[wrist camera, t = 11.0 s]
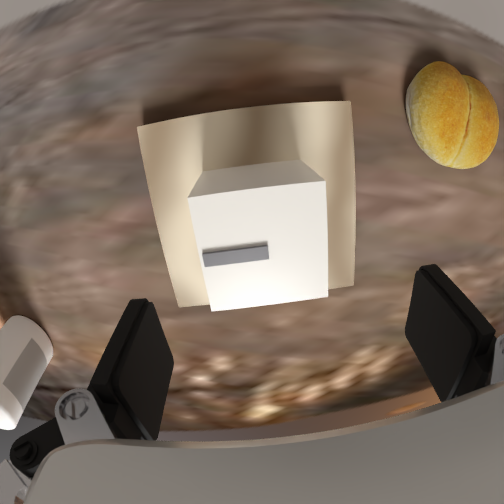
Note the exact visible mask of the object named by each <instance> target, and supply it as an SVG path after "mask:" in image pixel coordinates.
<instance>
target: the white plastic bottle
mask: <svg viewBox="0 0 504 504" xmlns="http://www.w3.org/2000/svg"><path fill="white" fill-rule="evenodd" d="M52 356H53V346H52V343H51V341H50V339H49V337H48V336H47V334H46V333H45V332H44V331H43V329H42V328H41V327H40V326H39V325H37V324H36V323H35V322H34V321H32V320H30V319H29V318H27V317H24V316H20V315H16V316H12V317H11V318H9V319H8V320H7V322H6V323H5V324H4V325H3V327H2V328H1V329H0V429H6V430H11V429H14V428H15V427H16V425H17V423H18V421H19V419H20V417H21V415H22V413H23V411H24V409H25V407H26V405H27V403H28V401H29V399H30V397H31V395H32V393H33V391H34V389H35V387H36V385H37V383H38V381H39V380H40V378H41V376H42V374H43V372H44V370H45V369H46V367H47V365H48V363H49V362H50V360H51V358H52Z"/></svg>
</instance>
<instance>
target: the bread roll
mask: <svg viewBox="0 0 504 504" xmlns="http://www.w3.org/2000/svg"><path fill="white" fill-rule="evenodd" d="M406 114H407V119H408V123H409V126H410V129H411V132H412V134H413V136H414V139H415V141H416V142H417V144H418V145H419V147H420V148H421V149H422V150H423V151H424V152H425V153H426V154H427V155H428V156H429V157H430V158H431V159H433V160H434V161H435V162H437V163H438V164H441V165H444V166H449V167H452V168H458V169H467V168H472V167H475V166H477V165H479V164H481V163H482V162H484V161H485V160H486V159H487V158H488V156H489V155H490V154H491V152H492V150H493V149H494V146H495V144H496V141H497V137H498V131H499V117H498V111H497V106H496V104H495V101H494V99H493V97H492V95H491V94H490V92H489V90H488V89H487V88H486V87H485V85H484V84H482V83H481V82H480V81H479V80H477V79H475V78H473V77H470V76H467V75H461V74H460V72H459V71H458V70H457V69H456V68H455V67H454V66H452V65H450V64H448V63H446V62H441V61H437V62H433V63H430V64H428V65H427V66H425V67H424V68H423V69H421V70H420V71H419V72H418V73H417V75H416V76H415V77H414V78H413V80H412V81H411V83H410V85H409V87H408V89H407V93H406Z"/></svg>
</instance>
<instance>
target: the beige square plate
mask: <svg viewBox="0 0 504 504" xmlns="http://www.w3.org/2000/svg"><path fill="white" fill-rule="evenodd" d="M137 130H138V136H139V142H140V147H141V153H142V158H143V163H144V168H145V173H146V178H147V183H148V188H149V192H150V197H151V202H152V206H153V210H154V215H155V219H156V223H157V227H158V232H159V236H160V240H161V244H162V248H163V252H164V255H165V259H166V263H167V267H168V270H169V274H170V278H171V281H172V285H173V288H174V292H175V295H176V299H177V302H178V306H179V307H187V306H197V305H207V304H210V302H209V298H208V294H207V289H206V285H205V281H204V276H203V272H202V267H201V263H200V258H199V253H198V249H197V244H196V239H195V234H194V229H193V224H192V219H191V214H190V209H189V204H188V199H187V197H188V196H189V194H190V192H191V190H192V189H193V187H194V185H195V184H196V182H197V180H198V178H199V177H200V175H201V173H202V172H203V171H209V170H216V169H223V168H230V167H238V166H245V165H253V164H262V163H271V162H280V161H290V160H302V161H303V162H304V163H305V164H306V165H308V166H309V167H310V168H311V169H312V170H314V171H315V172H316V173H317V174H318V175H319V176H321V177H322V178H323V179H324V180H325V181H326V199H327V228H328V289H333V288H340V287H346V286H353V285H354V265H355V225H356V199H355V160H354V140H353V124H352V111H351V101H323V102H302V103H287V104H275V105H264V106H255V107H246V108H238V109H230V110H223V111H216V112H210V113H204V114H198V115H192V116H187V117H181V118H176V119H171V120H166V121H161V122H157V123H152V124H148V125H143V126H139V127H137Z"/></svg>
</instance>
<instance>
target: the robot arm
mask: <svg viewBox="0 0 504 504" xmlns="http://www.w3.org/2000/svg"><path fill="white" fill-rule="evenodd" d="M495 332H496V330H495V329H494V328H493V327H492V325H491V324H490V323H489V322H488V321H487V320H486V318H485V317H484V316H483V315H482V314H481V313H480V311H479V310H478V309H477V308H476V307H475V306H474V305H473V303H472V302H471V301H470V300H469V299H468V298H467V297H466V296H465V294H464V293H463V292H462V291H461V290H460V289H459V288H458V287H457V286H456V285H455V284H454V283H453V282H452V281H451V279H450V278H449V277H448V276H447V275H446V274H445V273H444V272H443V271H442V270H441V269H440V268H439V267H438V266H437V265H436V264H431V265H425V266H421V267H420V268H419V271H416V274H415V279H414V285H413V291H412V297H411V302H410V307H409V312H408V317H407V322H406V327H405V335H406V338H407V340H408V341H409V343H410V345H411V347H412V348H413V350H414V352H415V354H416V356H417V357H418V359H419V361H420V363H421V365H422V367H423V368H424V370H425V372H426V374H427V376H428V378H429V380H430V382H431V384H432V385H433V387H434V389H435V391H436V393H437V395H438V397H439V399H440V401H441V403H438V404H435V405H432V406H429V407H426V408H423V409H419V410H416V411H413V412H409V413H406V414H402V415H398V416H395V417H391V418H387V419H383V420H379V421H375V422H370V423H366V424H361V425H356V426H352V427H347V428H341V429H336V430H330V431H324V432H318V433H311V434H304V435H296V436H288V437H279V438H269V439H257V440H241V441H215V442H214V441H210V442H192V441H191V442H189V441H156V440H157V438H158V434H159V429H160V424H161V419H162V415H163V410H164V405H165V401H166V396H167V392H168V388H169V383H170V379H171V375H172V370H173V366H174V360H173V356H172V353H171V351H170V348H169V346H168V343H167V340H166V338H165V335H164V332H163V329H162V327H161V324H160V321H159V318H158V315H157V313H156V310H155V307H154V304H153V303H152V302H149V301H148V300H147V299H146V298H144V299H132V300H130V301H129V303H128V305H127V307H126V309H125V311H124V313H123V315H122V317H121V319H120V321H119V323H118V325H117V327H116V329H115V331H114V333H113V335H112V337H111V339H110V341H109V343H108V345H107V347H106V349H105V351H104V353H103V355H102V357H101V360H100V362H99V364H98V366H97V368H96V370H95V373H94V375H93V377H92V379H91V381H90V384H89V386H88V389H87V390H86V389H73V390H70V391H68V392H67V393H65V394H63V395H62V396H61V398H60V399H59V400H58V402H57V403H56V406H55V416H56V417H55V418H53V419H52V420H50V421H48V422H46V423H45V424H43V425H41V426H39V427H38V428H36V429H34V430H32V431H30V432H29V433H27V434H25V435H23V436H21V437H20V438H19V439H17V440H16V441H15V442H14V443H13V445H12V447H11V450H10V460H9V461H7V460H6V459H5V460H4V461H3V462H2V463H1V464H0V504H504V334H503V335H501V336H499V337H498V338H496V337H495V336H494V335H495Z"/></svg>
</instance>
